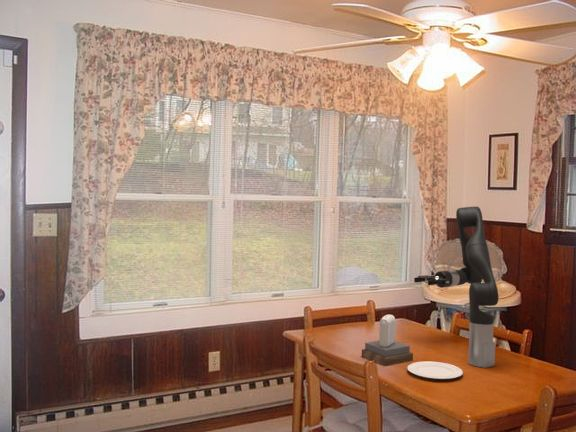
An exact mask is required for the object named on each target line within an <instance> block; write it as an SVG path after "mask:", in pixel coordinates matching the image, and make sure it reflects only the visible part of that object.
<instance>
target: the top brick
mask: <svg viewBox="0 0 576 432" xmlns="http://www.w3.org/2000/svg"><path fill="white" fill-rule="evenodd" d="M364 349H365V350H367V351H369V352H372V353H375V354H377V355H380V356H383V357H385V358H387V357H392V356H397V355H402V354H407V353H410V350H411V348H410V345H408V344H406V343H402V342H399V341H396V340H395V343H393V344H391V345H390V346H388V347H382V346H380V344H379V340H375V341H368V342H365V343H364Z"/></svg>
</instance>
